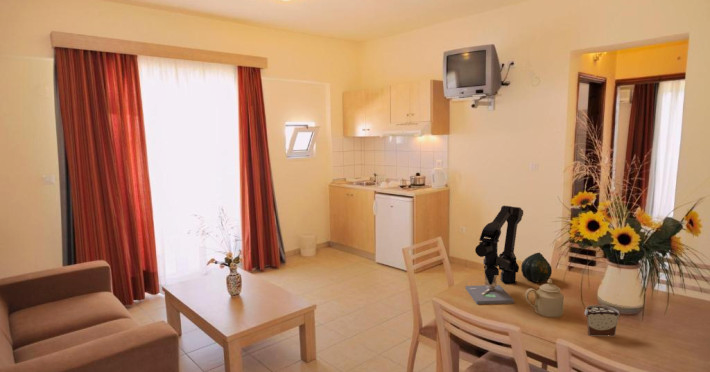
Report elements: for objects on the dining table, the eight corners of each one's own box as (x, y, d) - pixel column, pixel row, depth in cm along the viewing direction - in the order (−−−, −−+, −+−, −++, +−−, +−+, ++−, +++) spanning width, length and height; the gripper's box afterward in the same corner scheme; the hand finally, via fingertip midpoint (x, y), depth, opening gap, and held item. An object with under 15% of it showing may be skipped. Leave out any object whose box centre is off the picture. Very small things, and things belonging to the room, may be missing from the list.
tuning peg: (487, 286, 206) (487, 273, 205) (497, 289, 203) (497, 275, 202) (477, 294, 197) (477, 279, 196) (487, 296, 194) (487, 282, 193)
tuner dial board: (499, 287, 209) (499, 284, 209) (514, 303, 190) (514, 299, 190) (465, 288, 209) (465, 285, 209) (476, 304, 190) (476, 300, 190)
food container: (610, 328, 164) (612, 304, 163) (619, 336, 158) (620, 311, 157) (577, 328, 165) (579, 304, 164) (584, 335, 159) (586, 310, 158)
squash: (521, 274, 211) (542, 252, 210) (511, 266, 226) (530, 245, 225) (542, 292, 212) (563, 270, 210) (531, 283, 227) (550, 262, 225)
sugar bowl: (545, 322, 171) (547, 287, 169) (523, 312, 181) (524, 279, 179) (568, 313, 178) (570, 280, 176) (545, 304, 188) (546, 272, 186)
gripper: (510, 258, 190) (510, 291, 192) (507, 247, 207) (506, 277, 209) (485, 257, 192) (484, 289, 194) (483, 246, 210) (483, 276, 212)
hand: (490, 283), depth 203 cm, fingers closed on tuning peg, 3 cm apart
